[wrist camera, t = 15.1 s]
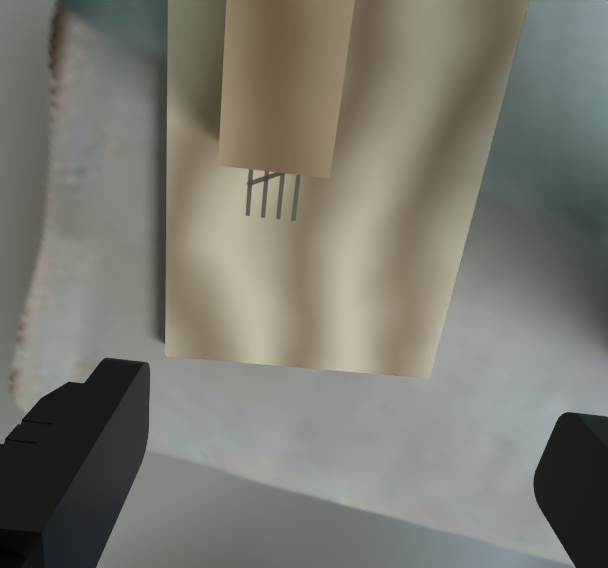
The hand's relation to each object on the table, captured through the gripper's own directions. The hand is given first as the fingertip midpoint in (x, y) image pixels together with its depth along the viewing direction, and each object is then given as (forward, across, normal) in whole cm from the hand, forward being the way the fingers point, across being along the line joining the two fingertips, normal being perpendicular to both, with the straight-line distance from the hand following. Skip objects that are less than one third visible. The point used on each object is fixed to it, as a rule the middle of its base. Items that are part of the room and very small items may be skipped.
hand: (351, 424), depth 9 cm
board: (+20, 0, -1) cm, 20 cm away
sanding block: (+19, +3, -7) cm, 20 cm away
